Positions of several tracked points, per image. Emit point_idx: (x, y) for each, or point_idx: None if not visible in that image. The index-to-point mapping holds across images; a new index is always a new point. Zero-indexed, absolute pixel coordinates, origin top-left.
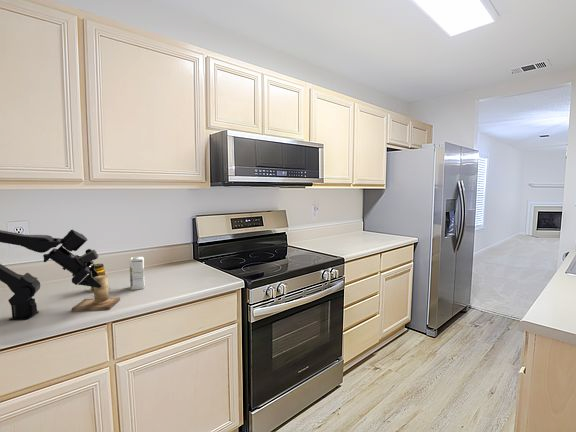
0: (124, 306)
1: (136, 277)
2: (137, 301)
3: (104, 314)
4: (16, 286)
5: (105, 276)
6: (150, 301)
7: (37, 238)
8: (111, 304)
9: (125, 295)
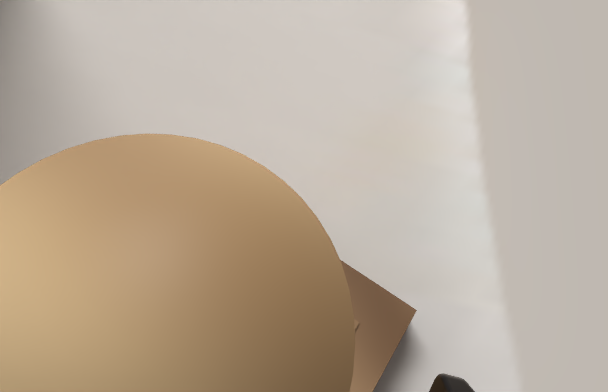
0: (402, 186)
1: None
2: (342, 71)
3: (515, 388)
4: None
5: (170, 183)
6: (411, 3)
7: None
8: (362, 281)
9: (81, 98)
